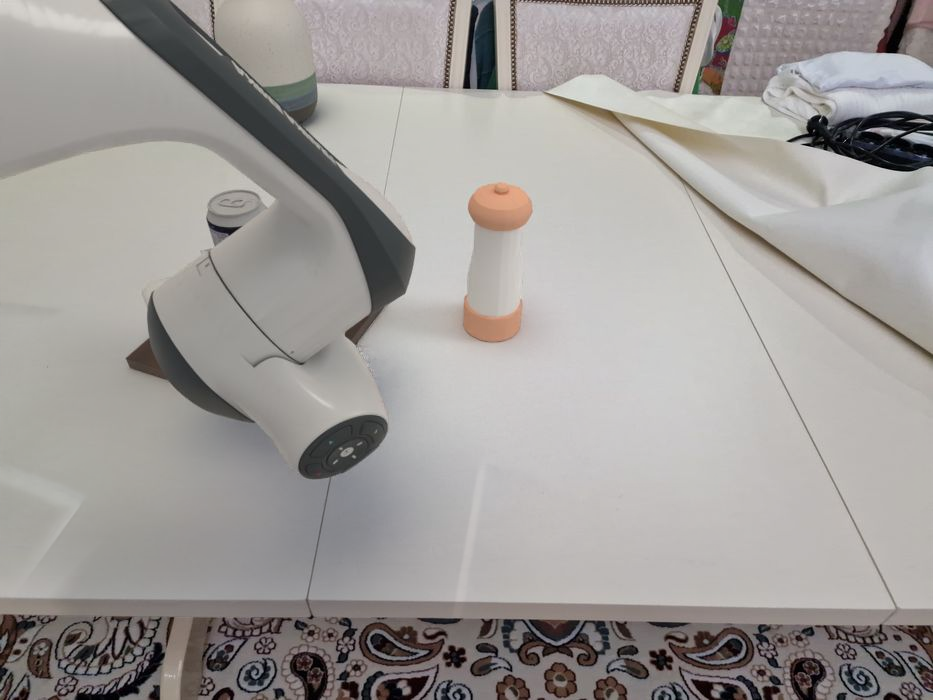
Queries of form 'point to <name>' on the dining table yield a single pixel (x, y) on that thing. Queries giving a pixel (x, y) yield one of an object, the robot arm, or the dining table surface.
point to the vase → (271, 49)
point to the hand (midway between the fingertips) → (244, 246)
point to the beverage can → (232, 212)
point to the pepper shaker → (496, 262)
